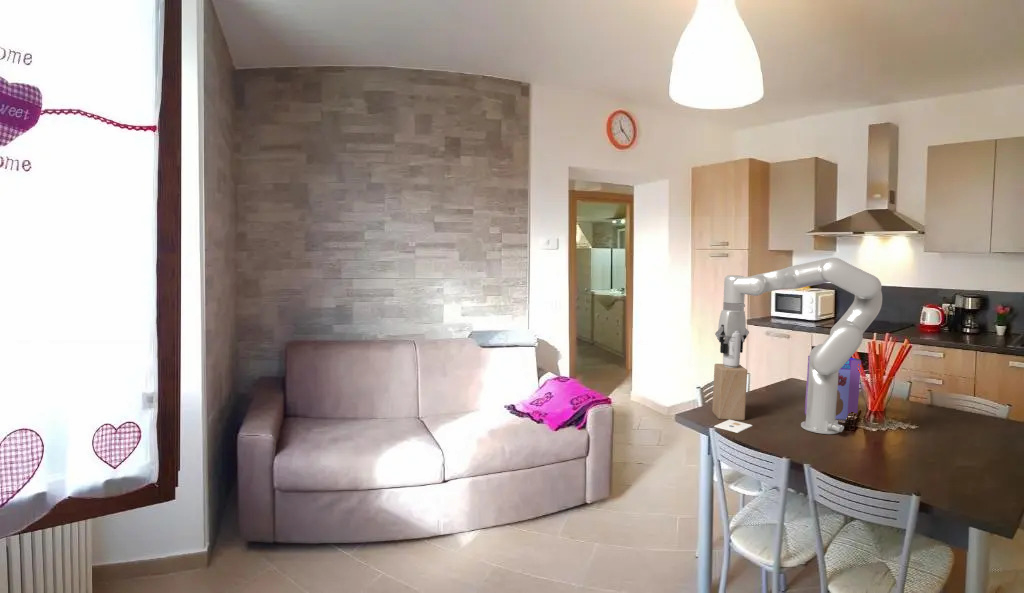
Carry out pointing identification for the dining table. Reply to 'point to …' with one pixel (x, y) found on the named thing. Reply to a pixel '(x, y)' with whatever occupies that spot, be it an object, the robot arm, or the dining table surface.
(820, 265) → the robot arm
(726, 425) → the white printed card
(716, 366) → the wooden block
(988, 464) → the dining table surface
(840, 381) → the cereal box
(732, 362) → the energy drink can
